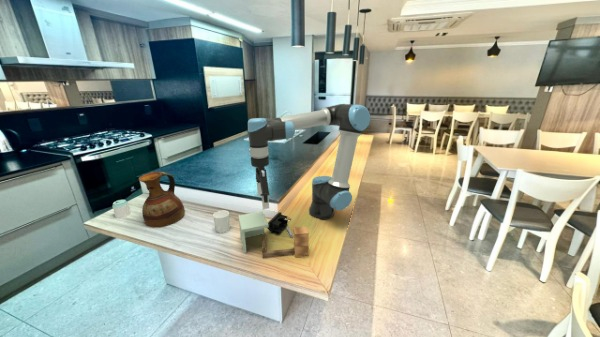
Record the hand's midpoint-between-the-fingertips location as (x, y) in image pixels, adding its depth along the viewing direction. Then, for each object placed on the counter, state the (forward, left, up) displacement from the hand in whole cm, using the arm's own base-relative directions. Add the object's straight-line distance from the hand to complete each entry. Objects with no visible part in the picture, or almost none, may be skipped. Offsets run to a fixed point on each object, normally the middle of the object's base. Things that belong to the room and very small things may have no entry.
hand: (263, 201), depth 103 cm
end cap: (-9, -11, -23) cm, 27 cm away
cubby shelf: (+5, -4, -23) cm, 24 cm away
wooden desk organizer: (-14, +12, -23) cm, 29 cm away
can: (+72, -51, -23) cm, 91 cm away
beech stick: (-11, -16, -24) cm, 31 cm away
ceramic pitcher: (+49, -41, -23) cm, 68 cm away
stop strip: (-13, -4, -23) cm, 27 cm away
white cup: (+19, -20, -23) cm, 36 cm away
